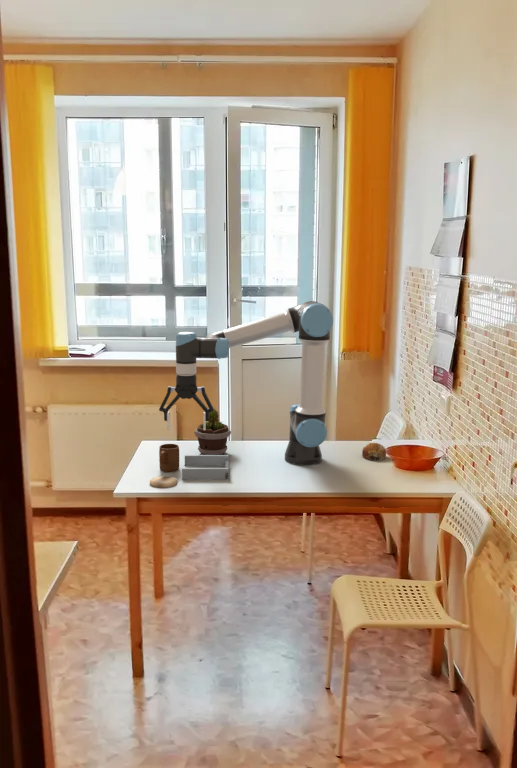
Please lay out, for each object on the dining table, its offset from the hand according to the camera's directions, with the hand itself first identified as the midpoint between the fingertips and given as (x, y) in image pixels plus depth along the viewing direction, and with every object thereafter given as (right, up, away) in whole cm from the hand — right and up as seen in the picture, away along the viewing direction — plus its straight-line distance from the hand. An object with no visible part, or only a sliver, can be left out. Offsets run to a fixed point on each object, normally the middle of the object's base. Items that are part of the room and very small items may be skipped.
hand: (186, 429), depth 250 cm
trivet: (-7, -19, -9) cm, 22 cm away
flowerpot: (+8, -12, +26) cm, 30 cm away
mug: (-8, -17, +3) cm, 19 cm away
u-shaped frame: (+7, -16, +4) cm, 18 cm away
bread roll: (+75, -14, +25) cm, 80 cm away
